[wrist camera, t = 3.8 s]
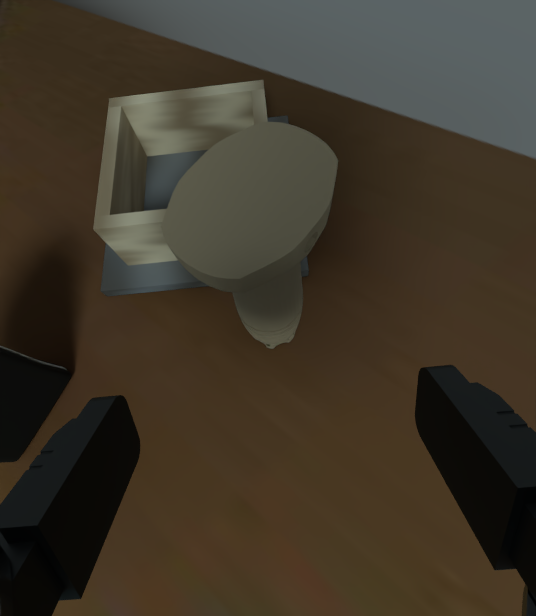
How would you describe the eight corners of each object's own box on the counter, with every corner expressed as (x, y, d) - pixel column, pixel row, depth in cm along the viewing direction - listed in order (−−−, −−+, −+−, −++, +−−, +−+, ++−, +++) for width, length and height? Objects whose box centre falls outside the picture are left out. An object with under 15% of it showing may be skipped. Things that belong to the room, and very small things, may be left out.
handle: (221, 344, 25) (132, 226, 11) (273, 279, 27) (252, 104, 13) (274, 383, 24) (249, 306, 10) (325, 313, 25) (367, 159, 11)
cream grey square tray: (287, 124, 32) (286, 59, 27) (308, 276, 26) (312, 232, 21) (122, 144, 33) (87, 83, 27) (107, 296, 27) (58, 259, 21)
